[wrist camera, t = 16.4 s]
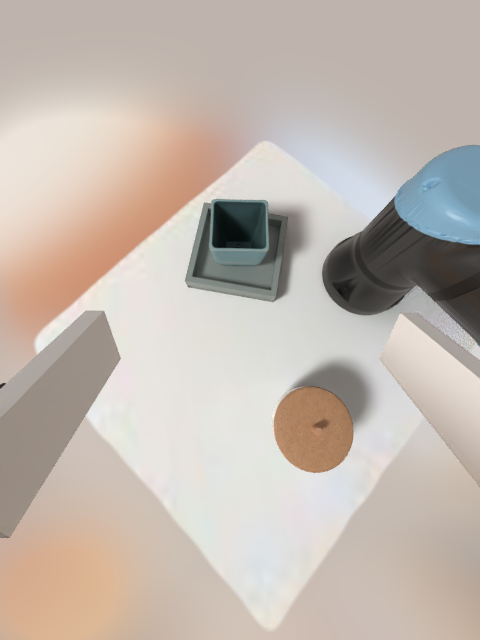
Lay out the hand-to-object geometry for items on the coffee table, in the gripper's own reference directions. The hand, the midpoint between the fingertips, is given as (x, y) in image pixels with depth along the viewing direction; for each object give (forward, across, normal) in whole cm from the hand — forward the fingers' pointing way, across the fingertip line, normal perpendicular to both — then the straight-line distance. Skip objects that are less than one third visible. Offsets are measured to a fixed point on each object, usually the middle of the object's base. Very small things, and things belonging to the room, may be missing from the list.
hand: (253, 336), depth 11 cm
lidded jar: (+15, +10, -28) cm, 33 cm away
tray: (+35, 0, -7) cm, 36 cm away
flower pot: (+34, 0, -6) cm, 35 cm away
